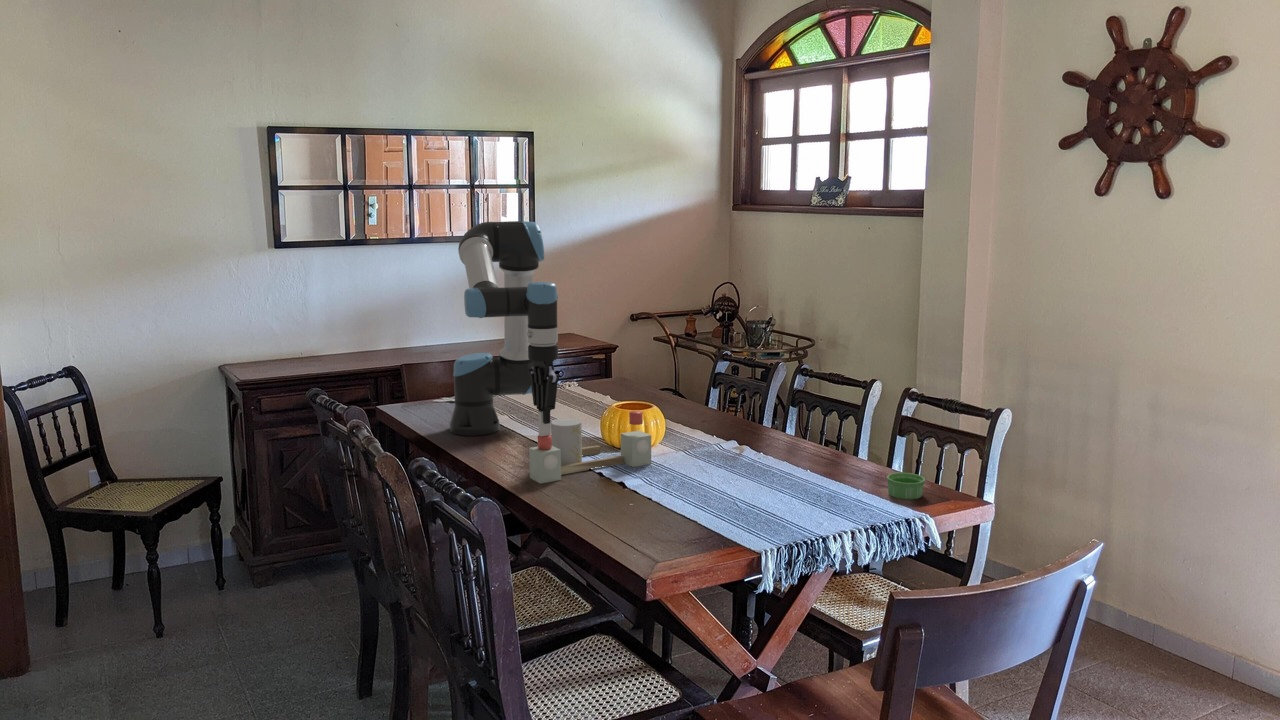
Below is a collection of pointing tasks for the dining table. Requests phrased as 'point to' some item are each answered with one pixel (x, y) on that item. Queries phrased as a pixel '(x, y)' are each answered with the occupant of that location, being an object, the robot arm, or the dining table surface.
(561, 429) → the grey upright cylinder
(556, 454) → the block
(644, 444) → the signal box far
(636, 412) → the block
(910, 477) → the ramekin
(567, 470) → the channel
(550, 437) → the block
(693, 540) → the dining table surface
